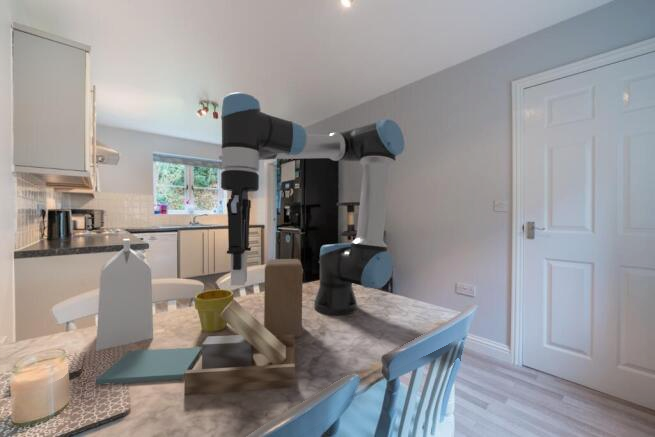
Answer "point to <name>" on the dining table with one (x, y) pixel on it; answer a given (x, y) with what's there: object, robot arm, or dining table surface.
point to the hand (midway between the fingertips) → (239, 283)
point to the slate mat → (151, 365)
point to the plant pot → (212, 308)
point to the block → (283, 297)
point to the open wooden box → (239, 367)
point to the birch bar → (254, 332)
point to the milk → (125, 300)
